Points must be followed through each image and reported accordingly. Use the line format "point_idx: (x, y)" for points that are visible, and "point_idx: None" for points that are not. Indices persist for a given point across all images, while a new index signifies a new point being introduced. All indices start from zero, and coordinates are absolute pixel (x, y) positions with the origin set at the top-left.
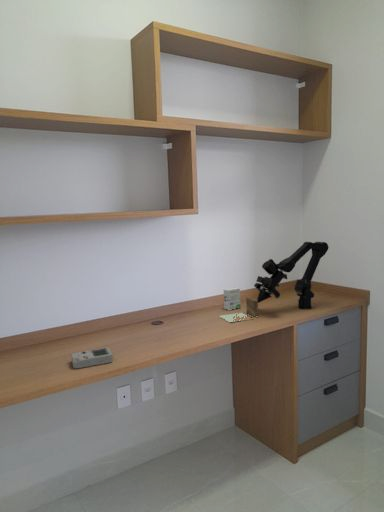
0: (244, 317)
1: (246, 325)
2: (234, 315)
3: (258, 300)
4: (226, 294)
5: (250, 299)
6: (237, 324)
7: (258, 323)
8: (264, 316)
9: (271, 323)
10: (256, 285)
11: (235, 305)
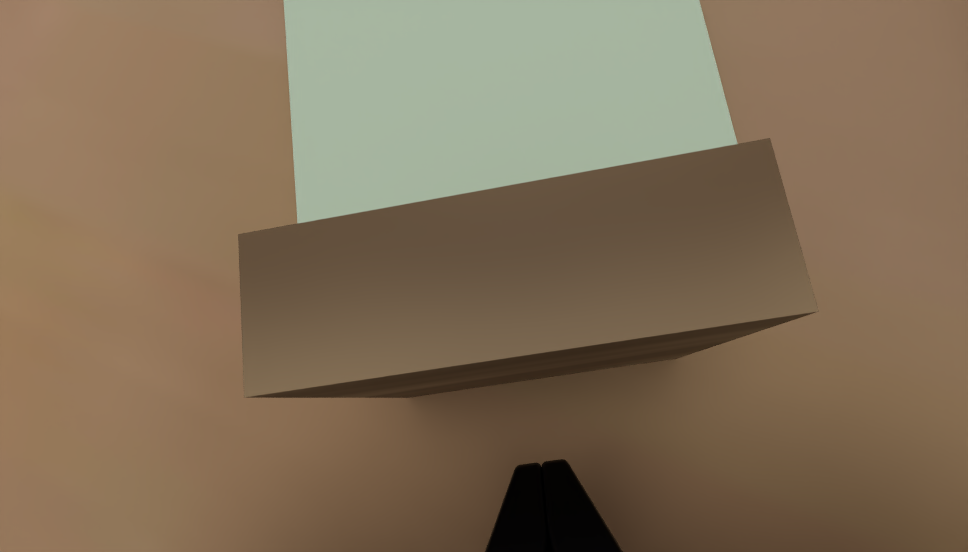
0: (435, 165)
1: (111, 100)
2: (603, 50)
3: (498, 524)
4: None
5: (491, 210)
6: (199, 8)
7: (111, 275)
8: (404, 523)
9: (23, 457)
10: None
11: None
